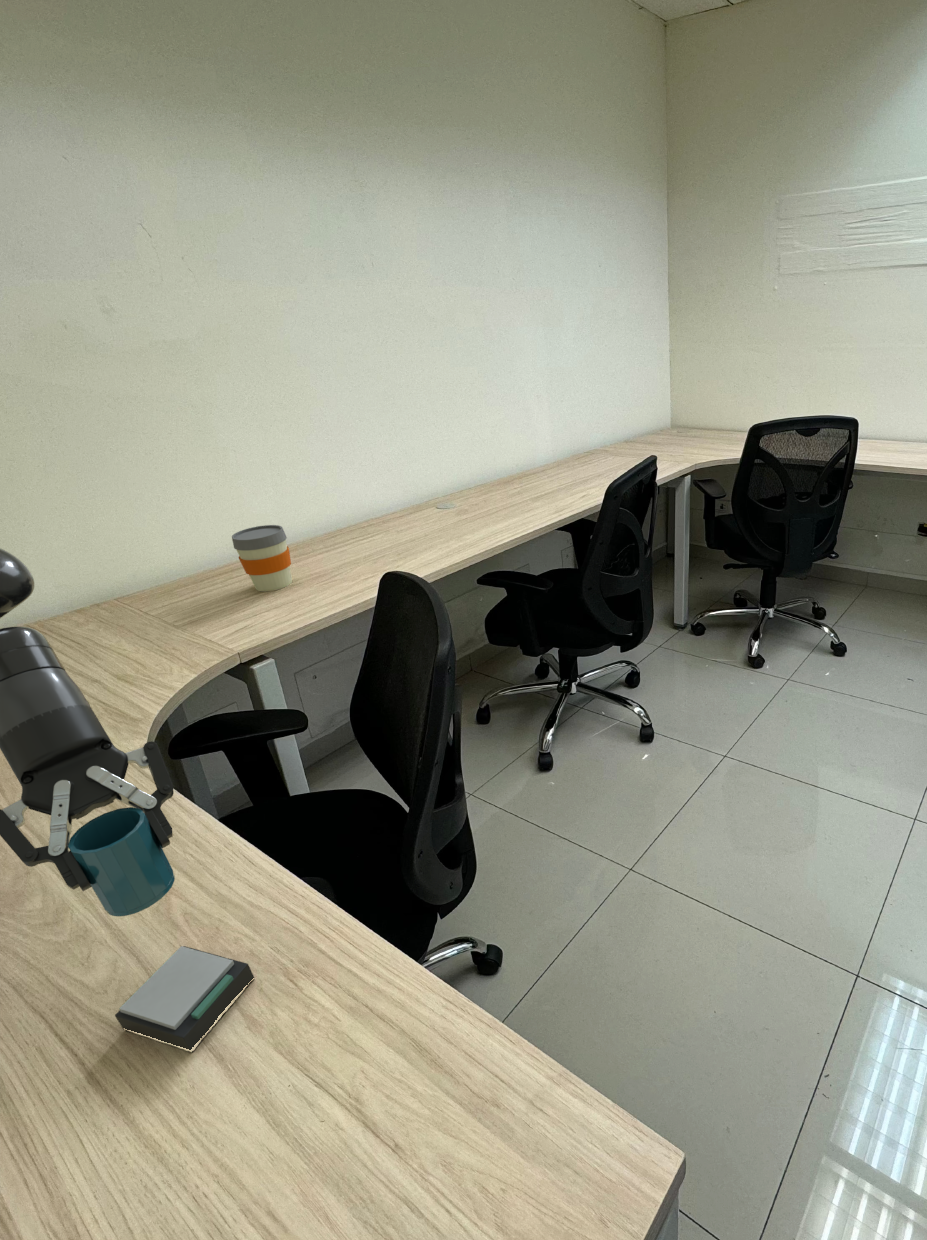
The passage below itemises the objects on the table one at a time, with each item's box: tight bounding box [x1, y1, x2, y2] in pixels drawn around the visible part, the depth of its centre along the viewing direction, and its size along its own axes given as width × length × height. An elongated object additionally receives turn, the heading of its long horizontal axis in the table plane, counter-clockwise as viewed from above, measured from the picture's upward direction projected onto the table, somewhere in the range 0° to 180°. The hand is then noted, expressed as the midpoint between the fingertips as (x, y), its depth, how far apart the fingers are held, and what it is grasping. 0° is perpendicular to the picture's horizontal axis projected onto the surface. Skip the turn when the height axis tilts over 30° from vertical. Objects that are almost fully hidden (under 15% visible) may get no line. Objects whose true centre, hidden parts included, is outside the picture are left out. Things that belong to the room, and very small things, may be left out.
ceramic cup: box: [68, 806, 176, 917], centre depth 64 cm, size 6×6×8 cm
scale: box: [114, 945, 255, 1050], centre depth 67 cm, size 9×8×3 cm
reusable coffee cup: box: [231, 524, 293, 592], centre depth 172 cm, size 13×13×15 cm
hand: (127, 865), depth 63 cm, fingers closed on ceramic cup, 6 cm apart
